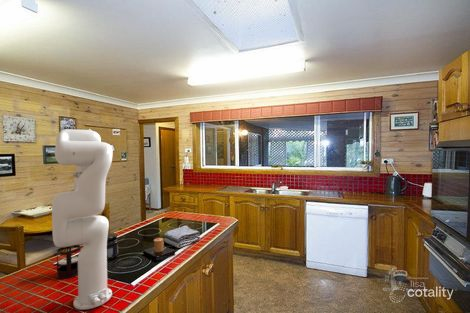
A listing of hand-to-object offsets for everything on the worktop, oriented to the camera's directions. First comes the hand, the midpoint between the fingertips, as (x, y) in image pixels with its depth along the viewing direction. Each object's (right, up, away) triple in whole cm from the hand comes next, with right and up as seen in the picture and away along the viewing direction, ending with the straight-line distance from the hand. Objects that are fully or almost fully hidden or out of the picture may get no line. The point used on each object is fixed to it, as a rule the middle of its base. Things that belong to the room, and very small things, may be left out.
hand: (85, 208), depth 123 cm
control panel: (+35, -27, +8) cm, 45 cm away
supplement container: (+8, -28, +5) cm, 30 cm away
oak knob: (+35, -25, +8) cm, 44 cm away
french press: (0, -28, -12) cm, 30 cm away
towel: (+44, -27, +27) cm, 58 cm away
